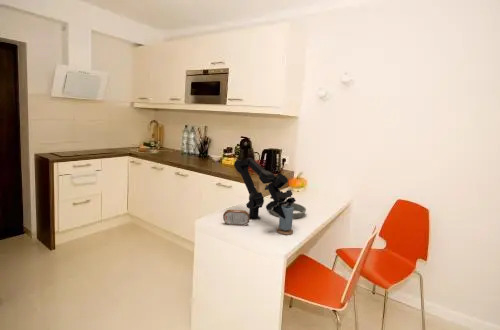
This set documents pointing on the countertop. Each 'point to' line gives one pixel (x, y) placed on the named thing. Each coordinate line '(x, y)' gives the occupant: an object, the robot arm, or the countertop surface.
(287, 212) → the sleeve
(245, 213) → the tin
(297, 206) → the cake pan
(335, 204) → the countertop surface
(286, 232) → the pin base
